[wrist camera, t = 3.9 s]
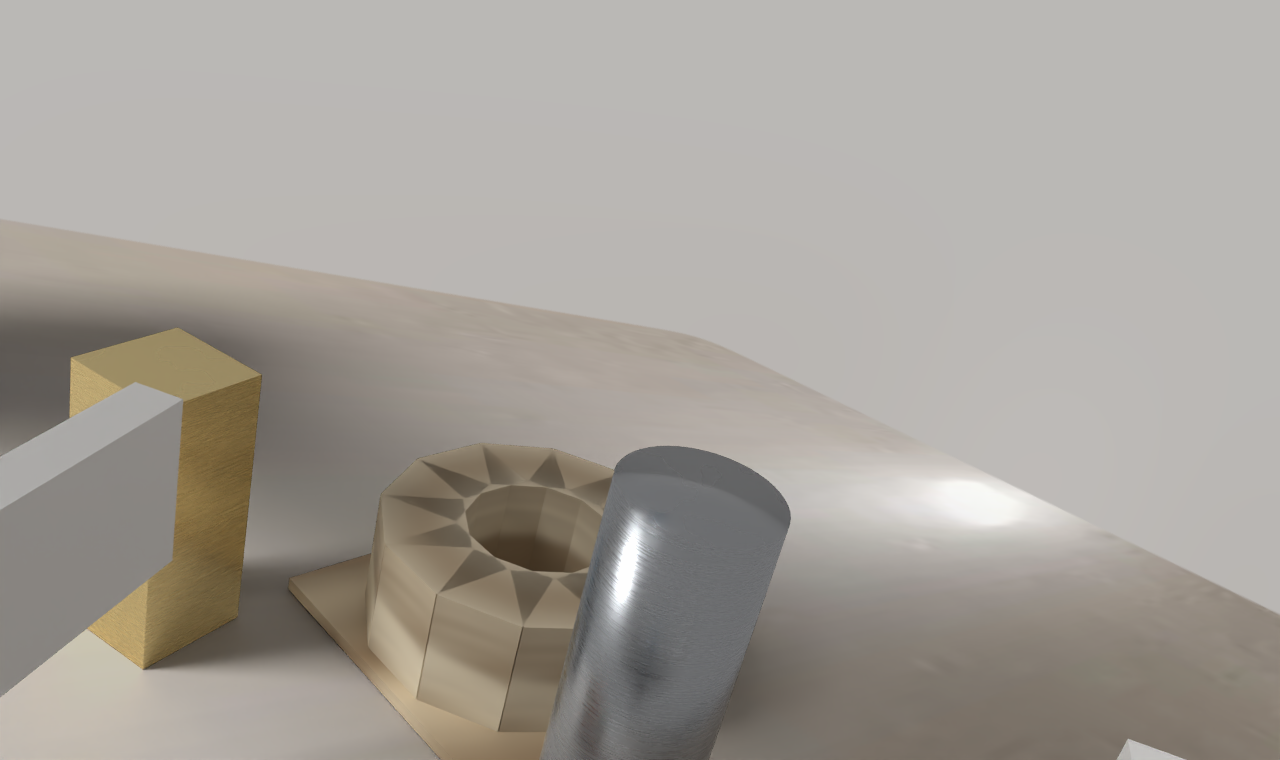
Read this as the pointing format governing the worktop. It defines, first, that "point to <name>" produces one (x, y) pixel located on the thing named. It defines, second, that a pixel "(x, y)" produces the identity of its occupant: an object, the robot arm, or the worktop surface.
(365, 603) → the socket block
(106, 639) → the square bit
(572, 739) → the cylinder
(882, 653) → the worktop surface
